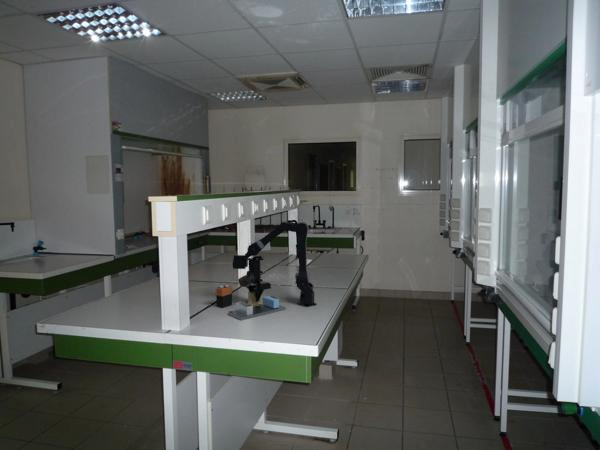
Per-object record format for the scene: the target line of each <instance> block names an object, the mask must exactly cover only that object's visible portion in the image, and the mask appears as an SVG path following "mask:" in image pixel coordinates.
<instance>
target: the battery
mask: <svg viewBox="0 0 600 450" xmlns="http://www.w3.org/2000/svg"><path fill="white" fill-rule="evenodd" d="M215 290H216V291H215V293H216V294H215V299H216V300H215V301H216V307H217V308H222V309H224V308H226V307H230V306H232V305H233V287H232V286H230V285H229V284H225V285H219V286H218V287H216V288H215Z"/></svg>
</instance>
